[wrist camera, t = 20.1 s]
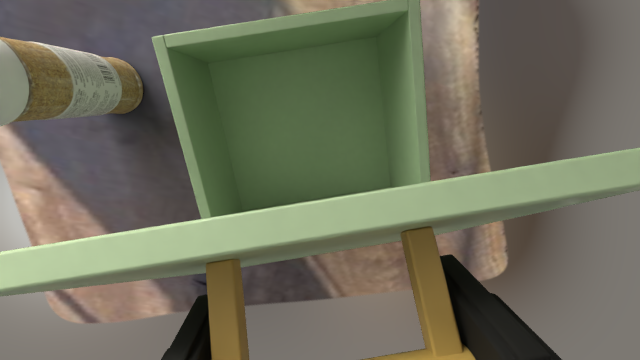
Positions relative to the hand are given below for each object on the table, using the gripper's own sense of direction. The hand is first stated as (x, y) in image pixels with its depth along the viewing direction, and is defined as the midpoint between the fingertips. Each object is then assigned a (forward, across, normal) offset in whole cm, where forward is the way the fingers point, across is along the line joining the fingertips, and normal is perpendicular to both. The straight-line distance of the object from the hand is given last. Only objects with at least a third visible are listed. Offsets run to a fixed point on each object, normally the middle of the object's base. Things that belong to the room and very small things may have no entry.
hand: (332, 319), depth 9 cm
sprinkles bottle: (+20, +15, -10) cm, 27 cm away
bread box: (+20, 0, -4) cm, 20 cm away
